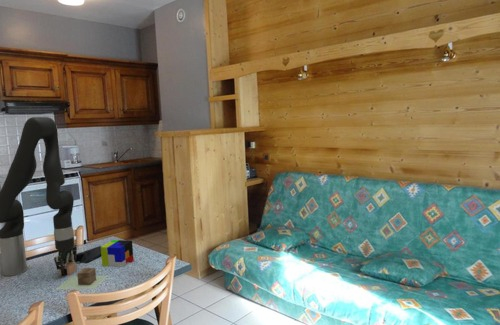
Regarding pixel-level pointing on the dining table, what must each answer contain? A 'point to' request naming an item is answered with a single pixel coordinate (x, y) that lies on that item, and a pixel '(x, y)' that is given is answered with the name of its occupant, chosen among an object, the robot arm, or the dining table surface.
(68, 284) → the build board
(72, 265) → the terracotta block
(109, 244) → the puzzle toy
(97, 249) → the dark slate chunk
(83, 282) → the walnut block
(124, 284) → the dining table surface
